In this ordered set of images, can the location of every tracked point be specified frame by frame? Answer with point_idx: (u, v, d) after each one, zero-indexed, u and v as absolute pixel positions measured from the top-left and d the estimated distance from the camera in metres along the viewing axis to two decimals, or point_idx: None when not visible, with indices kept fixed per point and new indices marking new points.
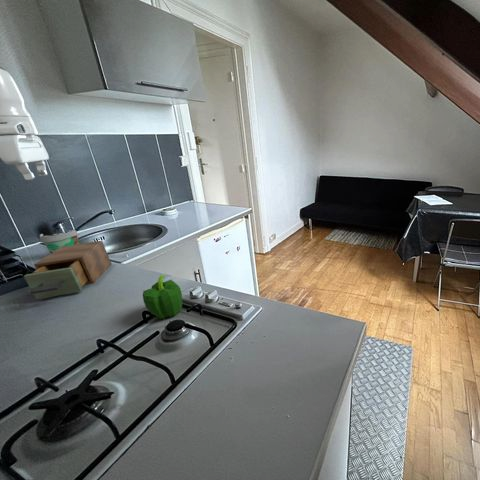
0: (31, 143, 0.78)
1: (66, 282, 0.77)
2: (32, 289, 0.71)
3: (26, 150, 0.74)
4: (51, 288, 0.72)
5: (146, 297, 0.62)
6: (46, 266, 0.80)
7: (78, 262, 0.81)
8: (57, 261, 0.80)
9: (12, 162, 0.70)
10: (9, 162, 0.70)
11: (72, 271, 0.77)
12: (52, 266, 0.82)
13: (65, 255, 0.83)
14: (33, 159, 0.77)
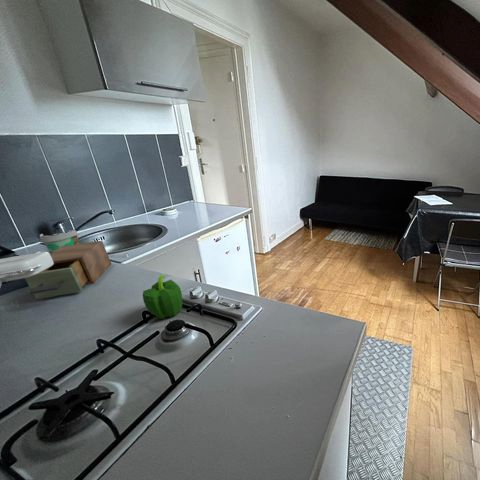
0: None
1: (66, 282, 0.77)
2: (32, 289, 0.71)
3: None
4: (51, 288, 0.72)
5: (146, 297, 0.62)
6: None
7: (78, 262, 0.81)
8: (57, 261, 0.80)
9: None
10: None
11: (72, 271, 0.77)
12: (52, 266, 0.82)
13: (65, 255, 0.83)
14: None
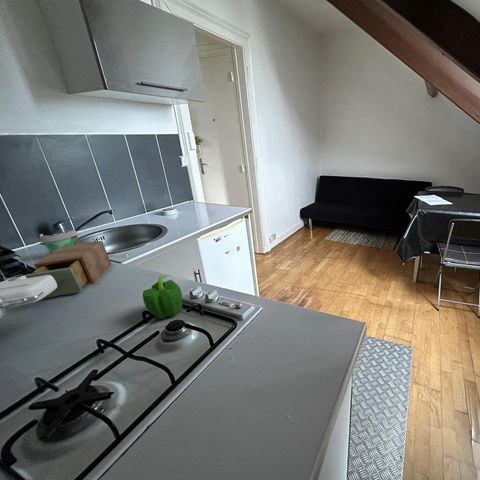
0: None
1: (66, 282, 0.77)
2: None
3: None
4: None
5: (146, 297, 0.62)
6: (46, 266, 0.80)
7: (78, 262, 0.81)
8: (57, 261, 0.80)
9: None
10: None
11: (72, 271, 0.77)
12: (52, 266, 0.82)
13: (65, 255, 0.83)
14: None
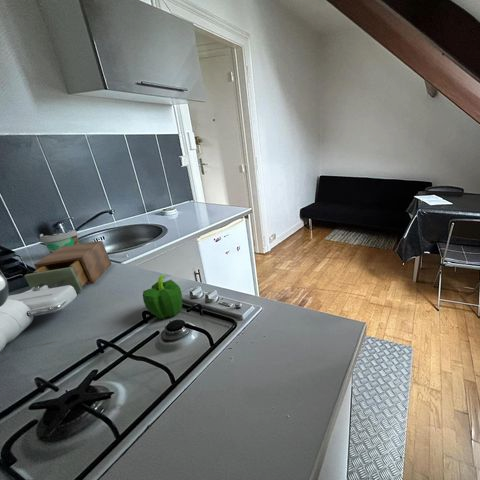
0: None
1: (67, 282, 0.77)
2: None
3: None
4: None
5: (146, 297, 0.62)
6: (46, 266, 0.80)
7: (78, 262, 0.81)
8: (57, 261, 0.80)
9: None
10: None
11: (72, 271, 0.77)
12: (52, 266, 0.82)
13: (65, 255, 0.83)
14: None
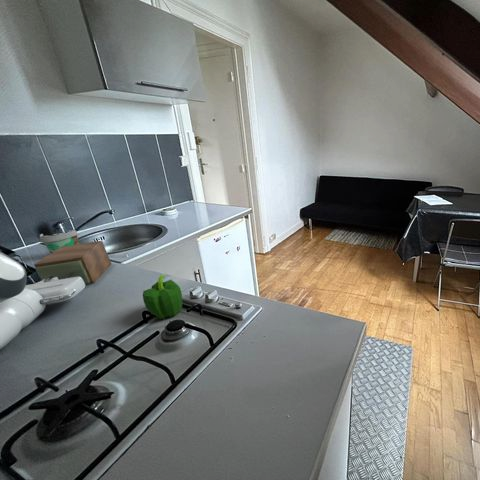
0: None
1: (75, 275, 0.81)
2: None
3: None
4: None
5: (146, 297, 0.62)
6: None
7: None
8: (57, 261, 0.80)
9: None
10: None
11: (81, 264, 0.81)
12: None
13: (65, 255, 0.83)
14: None
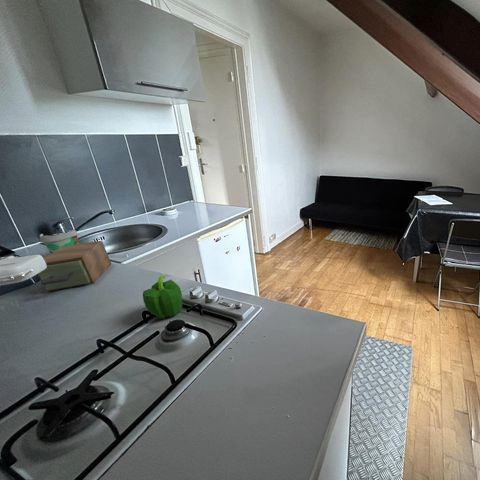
0: None
1: (75, 275, 0.81)
2: (43, 280, 0.76)
3: None
4: (61, 279, 0.77)
5: (146, 297, 0.62)
6: None
7: None
8: (57, 261, 0.80)
9: None
10: None
11: (81, 264, 0.81)
12: None
13: (65, 255, 0.83)
14: None
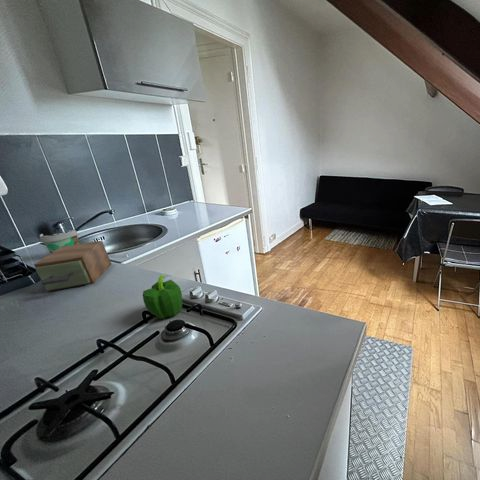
0: None
1: (75, 275, 0.81)
2: (43, 280, 0.76)
3: None
4: (61, 279, 0.77)
5: (146, 297, 0.62)
6: None
7: None
8: (57, 261, 0.80)
9: None
10: None
11: (81, 264, 0.81)
12: None
13: (65, 255, 0.83)
14: None
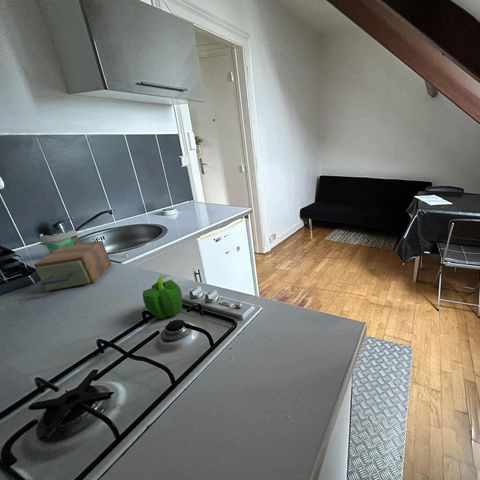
0: None
1: (75, 275, 0.81)
2: (43, 280, 0.76)
3: None
4: (61, 279, 0.77)
5: (146, 297, 0.62)
6: None
7: None
8: (57, 261, 0.80)
9: None
10: None
11: (81, 264, 0.81)
12: None
13: (65, 255, 0.83)
14: None
